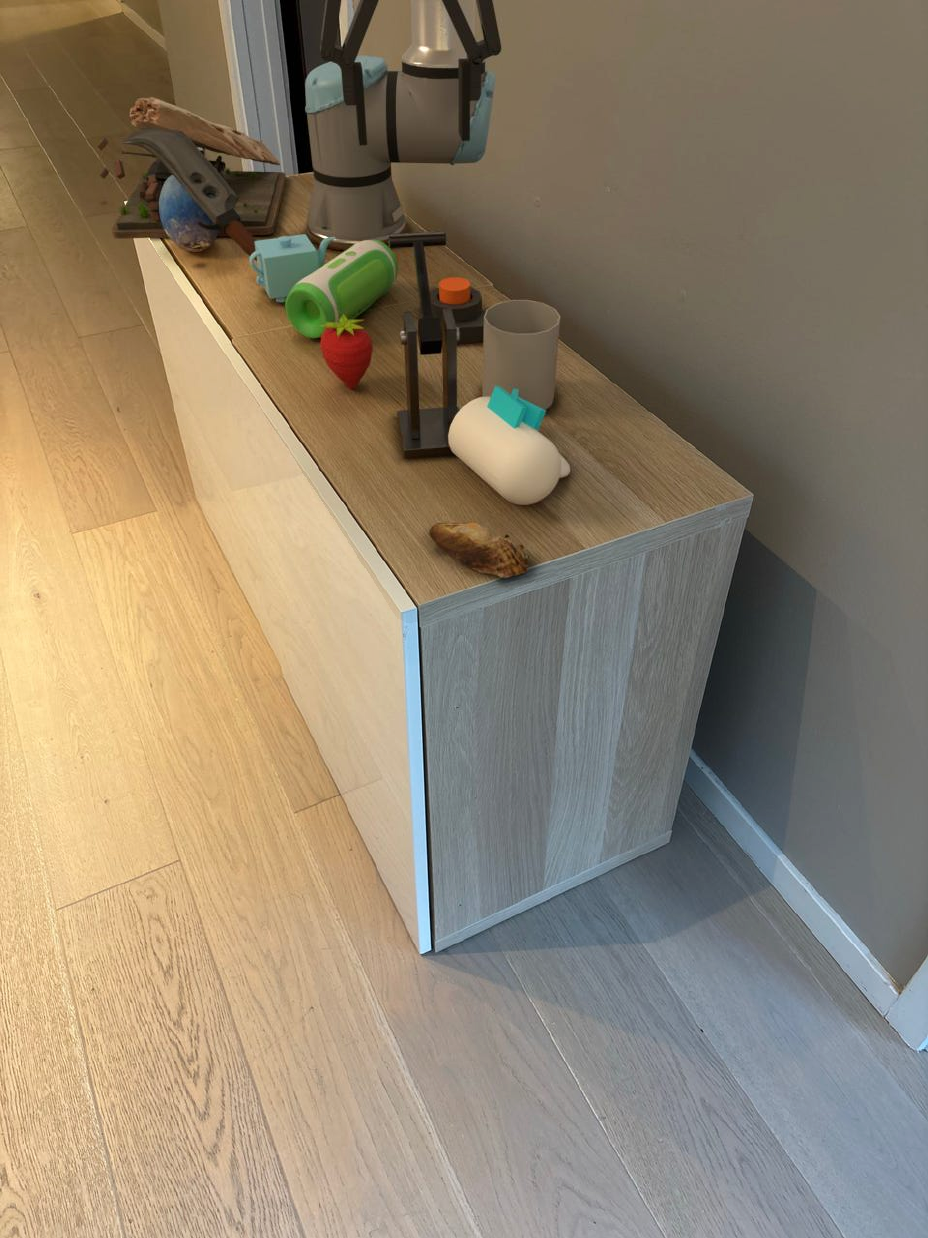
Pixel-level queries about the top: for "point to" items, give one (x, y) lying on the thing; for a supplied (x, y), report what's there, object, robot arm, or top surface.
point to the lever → (423, 286)
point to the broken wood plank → (199, 130)
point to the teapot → (286, 262)
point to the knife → (196, 168)
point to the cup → (521, 350)
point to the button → (454, 290)
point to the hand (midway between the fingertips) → (413, 138)
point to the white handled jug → (507, 446)
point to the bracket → (418, 426)
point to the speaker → (342, 287)
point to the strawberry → (346, 350)
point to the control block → (463, 315)
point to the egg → (184, 218)
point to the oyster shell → (480, 548)
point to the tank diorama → (252, 188)
